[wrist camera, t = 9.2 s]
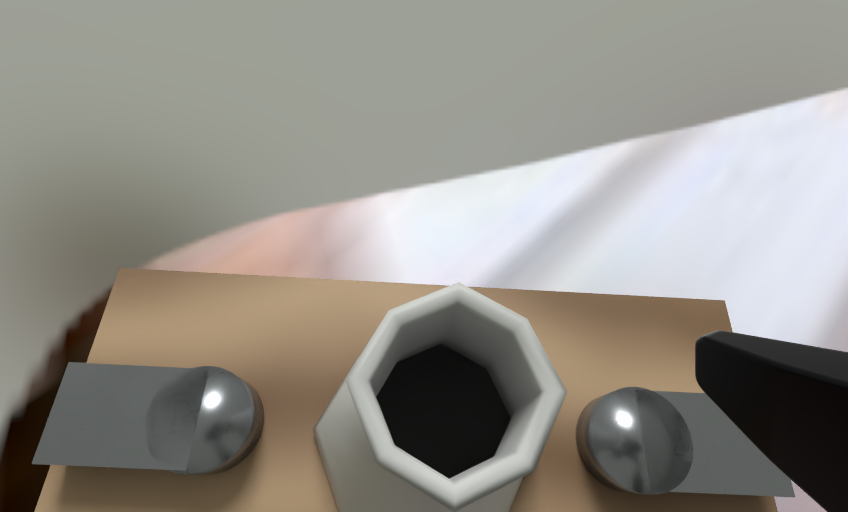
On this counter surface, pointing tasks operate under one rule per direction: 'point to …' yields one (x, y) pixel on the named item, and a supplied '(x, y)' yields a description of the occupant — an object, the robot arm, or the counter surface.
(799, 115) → the counter surface
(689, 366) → the tan board
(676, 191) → the counter surface
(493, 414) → the flask
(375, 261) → the counter surface
